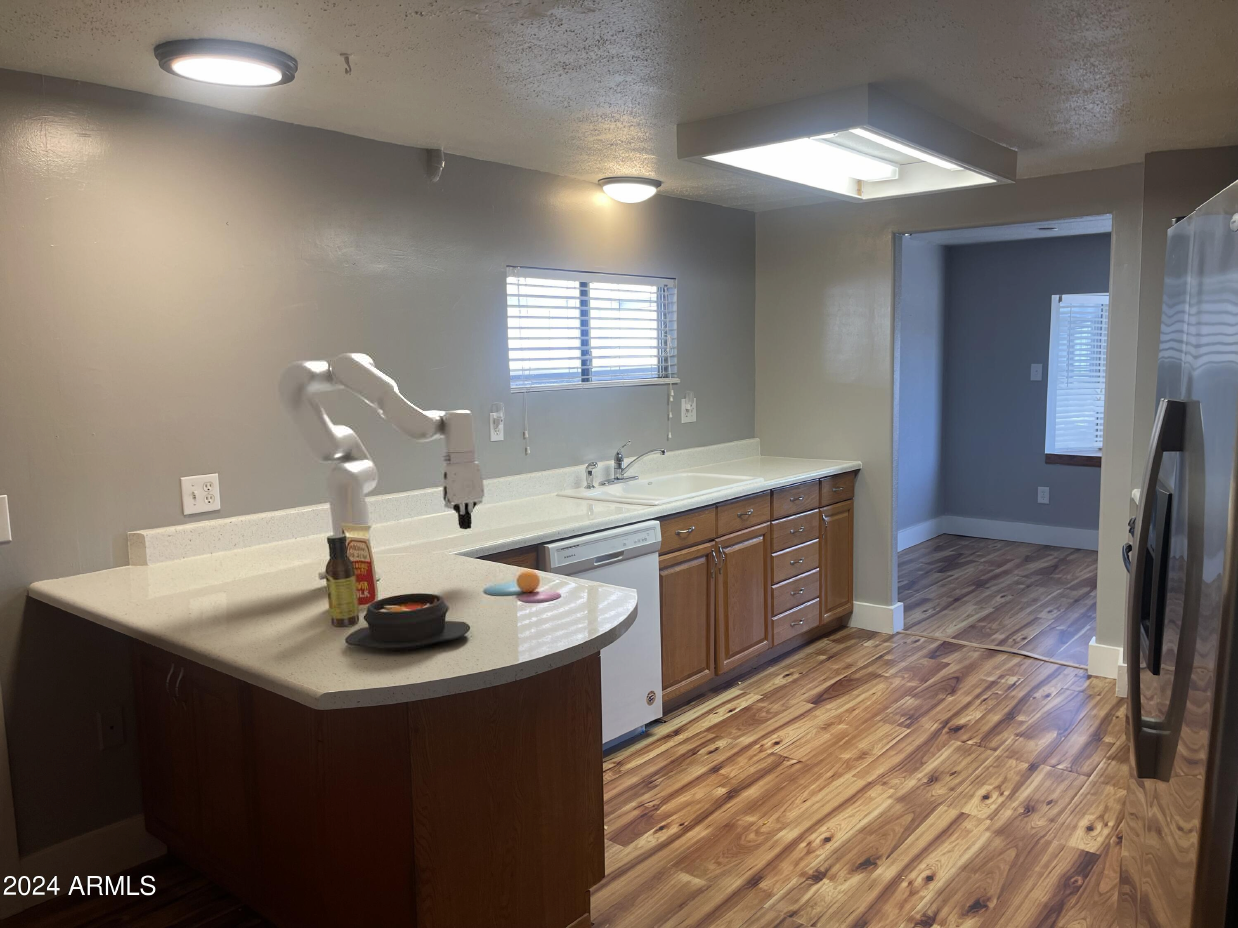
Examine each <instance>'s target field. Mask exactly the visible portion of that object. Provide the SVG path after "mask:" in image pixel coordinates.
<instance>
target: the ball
mask: <svg viewBox="0 0 1238 928" xmlns="http://www.w3.org/2000/svg"><path fill="white" fill-rule="evenodd" d="M540 580H541V579H540V576H539V574H538V573H537V572H536V571H535V570H533V569H525V570H522V571H521V572H520V573H519V574H518V576H517V577H516V582H517V585H518V587H519V589H520V590H521V591H523V592H527V593H529V592H535V591H536V590H537V589H538V588H539V586H540V582H541V581H540Z"/></svg>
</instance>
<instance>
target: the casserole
mask: <svg viewBox="0 0 1238 928" xmlns="http://www.w3.org/2000/svg"><path fill="white" fill-rule="evenodd" d="M449 610H450V608H449V605H447V604H446V602H445V600H444V598H443V596H441V595H438V594H436V593H425V592H424V593H421V592H419V593H416V592H415V593H414V592H413V593H404V594H397V595H392V596H388V597H384V598H380V599H378V600H377V601H375V602H373V603H371V604H370V605H369V606H368V607H367V609H366V613H365V614H364V615H363V616H362V617H363V621H365V622H366V623H367V627H361V628H358V629H356V630H355V631H353V632H351V633H349V634H348V635H347V636H346V637H345V639H344V642H345V644H347V645H348V646H352V647H353V646H354V647H371V648H376V649H377V648H378V649H382V650H383V649H384V650H390V651H406V649H409V650H415V649H414V648H416V649H421V648H424V647H426V646H429V645H433V644H434V643H439V642H446V641H451V640H456V639H459V638H461V637H463V636H464V635H466V634H468V633H469V632H470V629H471V626H470V624H469V623H467V622H465V621H457V620H456V621H455V620H452V621H451V620H446V617H447V612H448V611H449ZM423 646H424V647H423Z"/></svg>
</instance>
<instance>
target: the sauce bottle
mask: <svg viewBox="0 0 1238 928" xmlns="http://www.w3.org/2000/svg"><path fill="white" fill-rule="evenodd" d="M326 541H327V542H326V543H327V544H328V556H329V560H328V561H327V563H326V564H325V571H324V572H325V575H326V579H325V584H326V592H327V602H328V609H329V610H328V612H329V617H330V623H331V625H332V627H333V626H334V627H337V628H345V627H344V626H346V627H350V626H349V625H352V626H354V624H355V625H356V624H359V623H360V609H359V605H358V596H357V586H356V576H355V572H354V564H353V562H352V561H351V560H350V558H349V557H348V556H347V548H346V541H347V539H346V535H345V534H336V535H333V534H331V535H328V536H326Z"/></svg>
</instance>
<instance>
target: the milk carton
mask: <svg viewBox="0 0 1238 928" xmlns="http://www.w3.org/2000/svg"><path fill="white" fill-rule="evenodd" d="M341 524H342V534H345V535H346V539H347V541H346V548H347V556H348V557H349V558H350V560H351V561H352V562H353V564H354V572H355V576H356V586H357V596H358V605H359V608H362V609H366V608H368V606H369V605H370V604H371V603H373V602H375V601H377V600H379V589H378V588H379V586H378V582H377V581H378V580H377V579H376V572H377V571H376V566H375V559H374V556H373V549H372V550H371V545H370V540H369V530H370V531H371V528H372V527H373V525H371V524H370V525H362V526H356V525H350V524H344V523H341Z"/></svg>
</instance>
